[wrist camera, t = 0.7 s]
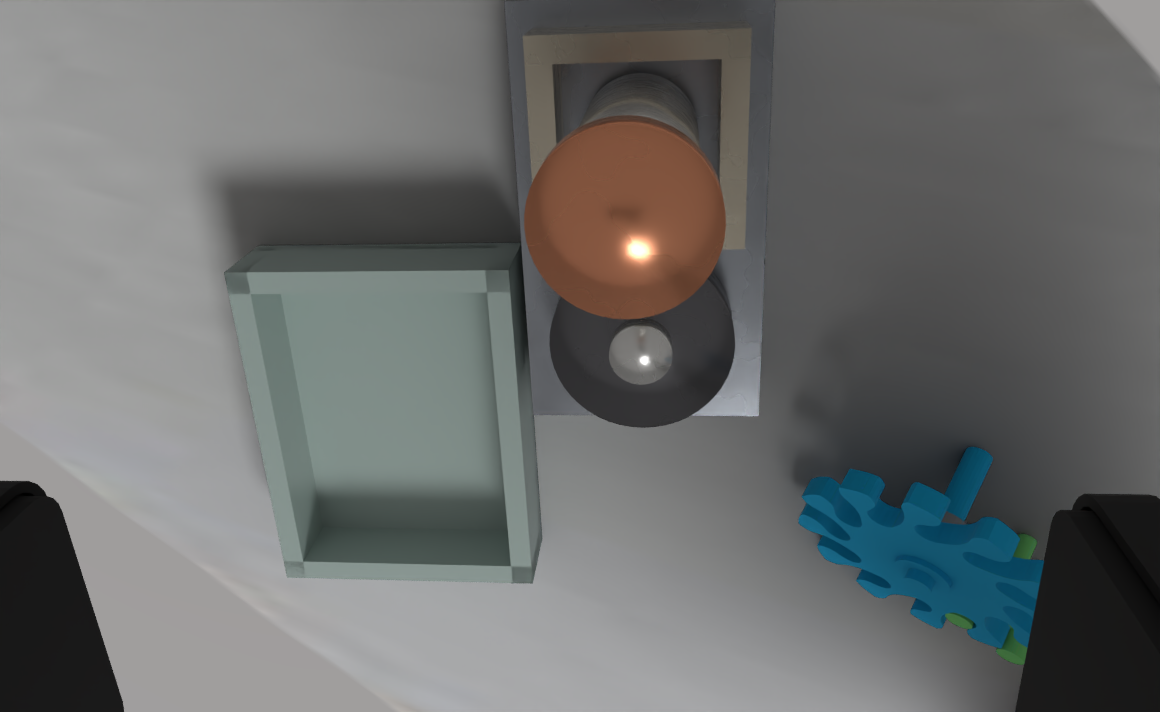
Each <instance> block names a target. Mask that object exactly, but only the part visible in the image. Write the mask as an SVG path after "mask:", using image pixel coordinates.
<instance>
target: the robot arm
mask: <svg viewBox="0 0 1160 712" xmlns="http://www.w3.org/2000/svg"><path fill="white" fill-rule="evenodd" d="M0 712H124V707H123V701H122V698H121V695H120V692H119V689H118V686H117V682H116V679H115V676H114V673H113V670H112V667H111V664H110V661H109V657H108V654H107V651H106V648H105V645H104V642H103V638H102V636H101V632H100V629H99V626H98V623H97V620H96V616H95V613H94V610H93V607H92V604H91V601H90V598H89V594H88V591H87V588H86V585H85V582H84V579H83V576H82V572H81V569H80V566H79V563H78V560H77V557H76V554H75V550H74V547H73V544H72V541H71V538H70V535H69V532H68V528H67V525H66V523H65V519H64V516H63V513H62V510H61V508H60V506H59V504H58V503H57V502H56V501H55V500H54V499H53V498H51V497H47V496H46V494H45V492H44V490H43V489H42V488H40V486H38V484H35V483H32V482H30V481H0ZM1015 712H1160V499H1159V498H1157V497H1156V496H1152V495H1134V494H1083V495H1082V496H1080V497H1078V499H1077V500H1076V502H1075V503H1074V505H1073V509H1072V510H1060V511H1058V512H1056V514H1055V516H1054V517H1053V520H1052V523H1051V527H1050V532H1049V538H1048V543H1047V548H1046V553H1045V559H1044V564H1043V569H1042V574H1041V579H1040V585H1039V590H1038V595H1037V600H1036V606H1035V611H1034V616H1033V621H1032V627H1031V632H1030V637H1029V642H1028V648H1027V653H1026V658H1025V663H1024V669H1023V674H1022V679H1021V684H1020V689H1019V695H1018V700H1017V705H1016V710H1015Z"/></svg>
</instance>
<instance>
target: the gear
mask: <svg viewBox="0 0 1160 712" xmlns="http://www.w3.org/2000/svg"><path fill="white" fill-rule="evenodd" d="M992 461H993V457H992V456H991V455H990V454H989V453H988V452H987V451H985V450H983V449H981V448H977V447H968V448H967V449H966V451H965V453H964V455H963V457H962V459H961V461H960V463H959V465H958V467H957V469H956V471H955V473H954V475H953V477H952V480H951V482H950V484H949V486H948V488H947V490H946V492H945V494H942V493H940V492H938V491H936V490H934V489H932V488H930V487H928V486H926V485H924V484H921V483H919V482H915V483H913V484H912V485H911V487H910V489H909V491H908V493H907V495H906V497H905V499H904V501H903V503H902V505H901V508H895V507H892V506H890V505H888V504H886V503H884V502H883V501H882V500H880V498H879V497H880V495H881V493H882V491H883V490H884V487H885V484H884V482H883V480H882V479H881V478H880V477H879V476H876V475H874V474H871V473H868V472H864V471H860V470H854V469H849V471H848V473H847V475H846V476H845V478H844V480H843V482H842V484H841V485H840V484H839V483H838V482H837V481H835V480H834V479H832V478H830V477H816V478H813V479H811V481H810V483H809V484H808V486H807V488H806V490H805V492H804V493H803V495H802V498H803V500H804V501H805V502H806V503H807V504H806V506H805V508H804V510H803V511H802V513H801V515H800V517H799V524H800V525H801V526H803V527H804V528H806V529H808V530H810V531H812V532H815V533H818V534H821V535H823V536H822V538H821V539H820V541H819V543H818V545H817V546H818V549H819V551H820V553H821V554H822V555H823V557H824V558H825V559H826V560H828V561H830V562H833V563H836V564H842V565H850V566H854V567H858V568H861V569H862V570H861V572H860V574H859V576H858V578H857V580H856V581H857V582H858V583H859V584H860V585H861V586H862V587H863V588H864V589H866V590H867V591H868V592H870V593H871V594H872V595H874V596H875V597H878V598H886V597H887V596H889V595H892V594H899V595H905V596H910V597H914V598H916V600H915V602H914V604H913V606H912V608H911V611H910V613H911V614H912V615H914V616H915V617H917V618H918V619H920V620H922V621H923V622H925V623H927V624H929V625H931V626H933V627H935V628H939V629H940V628H942V627H943V625H944V623H945V621H946V619H948V620H949V621H950V622H952V623H953V624H955V625H957V626H959V627H962V628H965V629H968V630H967V633H968V635H969V636H970V637H971V638H973V639H975V640H977V641H980V642H982V643H985V644H988V645H990V646H994V647H997V649H996V652H997V654H998V655H999V656H1001V657H1002V658H1004V659H1005V660H1007V661H1009V662H1012V663H1014V664H1018V665H1023V664H1024V663H1025V658H1026V653H1027V648H1028V642H1029V637H1030V632H1031V627H1032V621H1033V616H1034V611H1035V606H1036V600H1037V595H1038V590H1039V585H1040V579H1041V574H1042V569H1043V564H1044V561H1043V560H1030V559H1031V556H1032V554H1033V552H1034V549H1035V547H1036V545H1037V541H1036V540H1035V539H1034V538H1033V537H1031V536H1029V535H1026V534H1019V535H1017V534H1016V533H1015V532H1014V531H1013V530H1012V529H1010V528H1009V527H1008V526H1007V525H1006V524H1004V523H1003V522H1002V521H1000V520H999V519H997V518H993V517H983V518H981V519H980V520H979V521H977V522H975V523H972V524H967V523H966V522H964V521H965V519H966V517H967V515H968V512H969V510H970V508H971V506H972V504H973V502H974V500H975V498H976V495H977V493H978V491H979V489H980V487H981V485H982V483H983V480H984V478H985V476H986V474H987V472H988V470H989V468H990V465H991V463H992Z"/></svg>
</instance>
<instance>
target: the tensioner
mask: <svg viewBox="0 0 1160 712" xmlns="http://www.w3.org/2000/svg"><path fill="white" fill-rule="evenodd" d="M504 4H505V18H506V33H507V47H508V61H509V75H510V90H511V104H512V118H513V132H514V147H515V161H516V175H517V189H518V204H519V218H520V232H521V246H522V261H523V275H524V289H525V304H526V318H527V332H528V346H529V361H530V375H531V389H532V403H533V415H596V416H598V417H600V418H602V419H605V420H607V421H609V422H613V423H616V424H619V425H624V426H630V427H657V426H663V425H668V424H671V423H674V422H678V421H680V420H682V419H685V418H687V417H689V416H759V395H760V370H761V344H762V319H763V294H764V269H765V244H766V219H767V194H768V169H769V143H770V118H771V93H772V68H773V43H774V18H775V0H506V1H504ZM635 73H648V74H653V75H657V76H660V77H663V78H665V79H667V80H669V81H671V82H672V83H674V84H675V85H676V86H678V87H679V88H680V89H681V90H682V91H683V92H684V93H685V95H686V96H687V97H688V99H689V100H690V102H691V104H692V106H693V108H694V111H695V114H696V117H697V122H698V131H699V141H700V148H701V150H702V151H703V152H704V153H705V155H706V156H707V158H708V159H709V160H710V162H711V163H712V166H713V168H714V170H715V172H716V174H717V176H718V179H719V182H720V185H721V189H722V195H723V200H724V206H725V214H726V230H725V239H724V243H723V248H722V251H721V254H720V256H719V259H718V262H717V264H716V265H715V267H714V269H713V271H712V273H711V274H710V276H709V277H708V278H707V280H706V281H705V283H704V284H703V285H702V286H701V287H700V288H699V289H698V290H697V291H696V292H695V293H694V294H693V295H692V296H690V297H689V298H688V299H687V300H685V301H684V302H682V303H681V304H679V305H677V306H676V307H674V308H672V309H670V310H667V311H665V312H663V313H660V314H657V315H654V316H650V317H644V318H639V319H613V318H607V317H602V316H598V315H595V314H592V313H589V312H586V311H584V310H582V309H580V308H578V307H576V306H574V305H573V304H571V303H569V302H568V301H566V300H565V299H564V298H562V297H561V296H560V295H558V294H557V293H556V292H555V291H554V290H553V289H552V288H551V287H550V286H549V285H548V284H547V282H546V281H545V280H544V278H543V277H542V276H541V274H540V273H539V271H538V269H537V268H536V266H535V264H534V262H533V260H532V257H531V255H530V253H529V249H528V246H527V242H526V237H525V229H524V213H525V205H526V200H527V196H528V193H529V189H530V187H531V185H532V182H533V180H534V178H535V176H536V174H537V172H538V170H539V169H540V167H541V165H542V163H543V162H544V160H545V158H546V157H547V155H548V154H549V153H550V152H551V150H552V149H553V148H554V147H555V146H556V145H557V144H558V143H559V142H560V141H561V140H562V139H563V138H564V137H565V136H567V135H568V134H569V133H571V132H572V131H574V130H575V129H577V128H579V126H580V123H581V121H582V119H583V117H584V115H585V113H586V111H587V109H588V106H589V104H590V103H591V101H592V99H593V98H594V97H595V95H596V94H597V93H598V92H599V91H600V90H601V89H602V88H603V87H604V86H605V85H607V84H608V83H609V82H611V81H613V80H615V79H616V78H619V77H622V76H624V75H629V74H635Z"/></svg>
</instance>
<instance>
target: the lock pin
mask: <svg viewBox="0 0 1160 712" xmlns="http://www.w3.org/2000/svg"><path fill="white" fill-rule="evenodd" d="M524 229H525V237H526V242H527V246H528V249H529V253H530V255H531V257H532V260H533V262H534V264H535V266H536V268H537V269H538V271H539V273H540V274H541V276H542V277H543V278H544V280H545V281H546V282H547V284H548V285H549V286H550V287H551V288H552V289H553V290H554V291H555V292H556V293H557V294H558V295H560V296H561V297H562V298H564V299H565V300H566V301H568V302H569V303H571V304H573V305H574V306H576V307H578V308H580V309H582V310H584V311H586V312H589V313H592V314H595V315H598V316H602V317H607V318H613V319H639V318H644V317H650V316H654V315H657V314H660V313H663V312H665V311H667V310H670V309H672V308H674V307H676V306H677V305H679V304H681V303H682V302H684V301H685V300H687V299H688V298H689V297H690V296H692V295H693V294H694V293H695V292H696V291H697V290H698V289H699V288H700V287H701V286H702V285H703V284H704V283H705V281H706V280H707V278H708V277H709V276H710V274H711V273H712V271H713V269H714V267H715V265H716V264H717V262H718V259H719V256H720V254H721V251H722V248H723V243H724V239H725V230H726V214H725V206H724V200H723V195H722V189H721V185H720V182H719V179H718V176H717V174H716V172H715V170H714V168H713V166H712V163H711V162H710V160H709V159H708V158H707V156H706V155H705V153H704V152H703V151H702V150H701V148H700V141H699V131H698V122H697V117H696V114H695V111H694V108H693V106H692V104H691V102H690V100H689V99H688V97H687V96H686V95H685V93H684V92H683V91H682V90H681V89H680V88H679V87H678V86H676V85H675V84H674V83H672V82H671V81H669V80H667V79H665V78H663V77H660V76H657V75H653V74H648V73H635V74H629V75H624V76H622V77H619V78H616V79H615V80H613V81H611V82H609V83H608V84H607V85H605V86H604V87H603V88H602V89H601V90H600V91H599V92H598V93H597V94H596V95H595V97H594V98H593V99H592V101H591V103H590V104H589V106H588V109H587V111H586V113H585V115H584V117H583V119H582V121H581V123H580V126H579V128H577V129H575V130H574V131H572V132H571V133H569V134H568V135H567V136H565V137H564V138H563V139H562V140H561V141H560V142H559V143H558V144H557V145H556V146H555V147H554V148H553V149H552V150H551V152H550V153H549V154H548V155H547V157H546V158H545V160H544V162H543V163H542V165H541V167H540V169H539V170H538V172H537V174H536V176H535V178H534V180H533V182H532V185H531V187H530V189H529V193H528V196H527V200H526V205H525V213H524Z"/></svg>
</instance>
